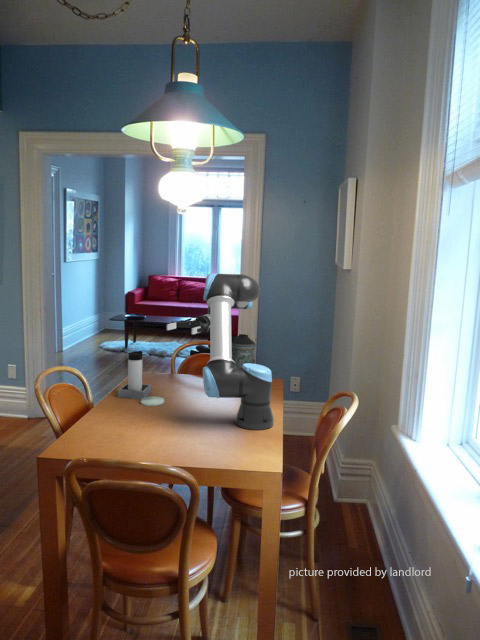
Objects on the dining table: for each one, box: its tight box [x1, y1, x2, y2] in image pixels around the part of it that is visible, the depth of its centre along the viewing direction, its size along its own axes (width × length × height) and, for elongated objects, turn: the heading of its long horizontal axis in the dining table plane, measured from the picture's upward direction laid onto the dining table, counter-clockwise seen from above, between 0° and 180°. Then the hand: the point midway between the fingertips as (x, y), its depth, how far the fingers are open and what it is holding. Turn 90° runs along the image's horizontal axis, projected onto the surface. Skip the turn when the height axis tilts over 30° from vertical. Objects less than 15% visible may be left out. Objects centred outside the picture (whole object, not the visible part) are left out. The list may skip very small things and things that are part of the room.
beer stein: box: [232, 333, 257, 368], centre depth 256 cm, size 16×19×25 cm
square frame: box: [117, 382, 153, 400], centre depth 229 cm, size 12×12×4 cm
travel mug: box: [127, 350, 144, 391], centre depth 228 cm, size 6×7×20 cm
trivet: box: [140, 395, 165, 407], centre depth 219 cm, size 10×10×1 cm
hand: (179, 329), depth 227 cm, fingers open, 13 cm apart
